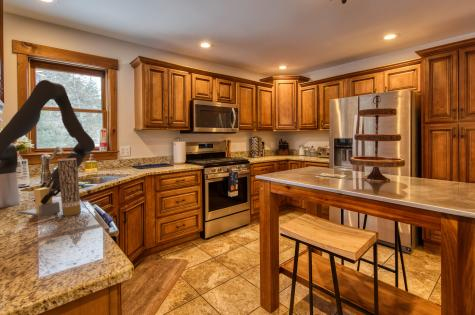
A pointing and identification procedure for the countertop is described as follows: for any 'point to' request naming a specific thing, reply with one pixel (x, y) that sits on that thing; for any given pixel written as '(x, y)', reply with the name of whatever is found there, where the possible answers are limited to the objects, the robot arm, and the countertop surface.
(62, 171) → the brown bark pillar
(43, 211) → the track
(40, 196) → the keeper
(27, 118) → the robot arm
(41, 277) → the countertop surface
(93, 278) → the countertop surface
